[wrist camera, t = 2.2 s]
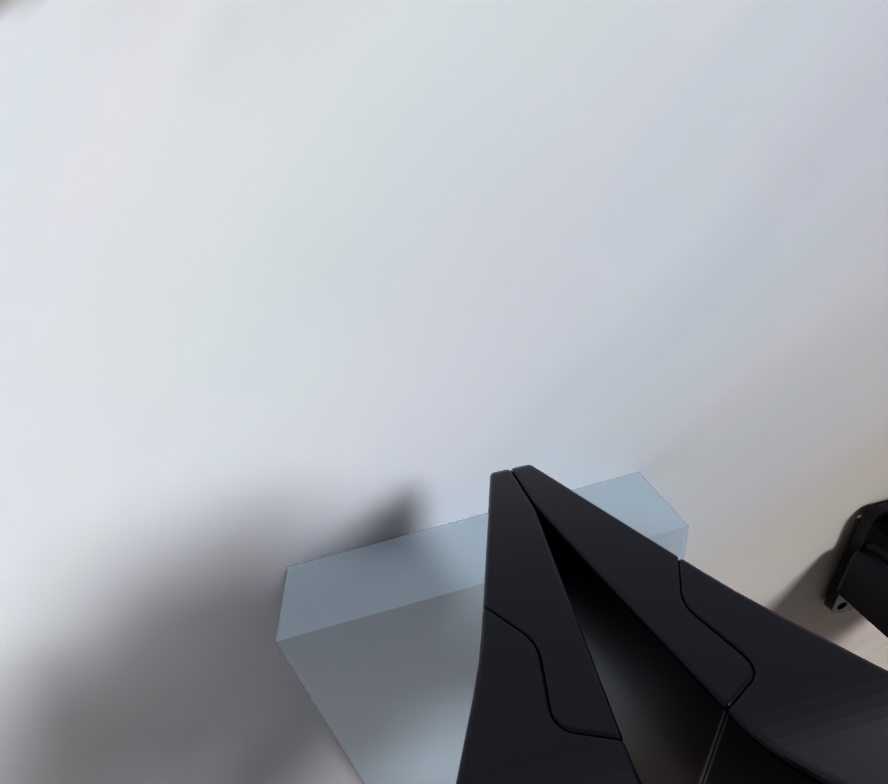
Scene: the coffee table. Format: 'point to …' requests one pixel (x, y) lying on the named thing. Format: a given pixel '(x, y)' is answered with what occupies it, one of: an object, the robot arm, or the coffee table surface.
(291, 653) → the slate tile
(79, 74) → the coffee table surface
